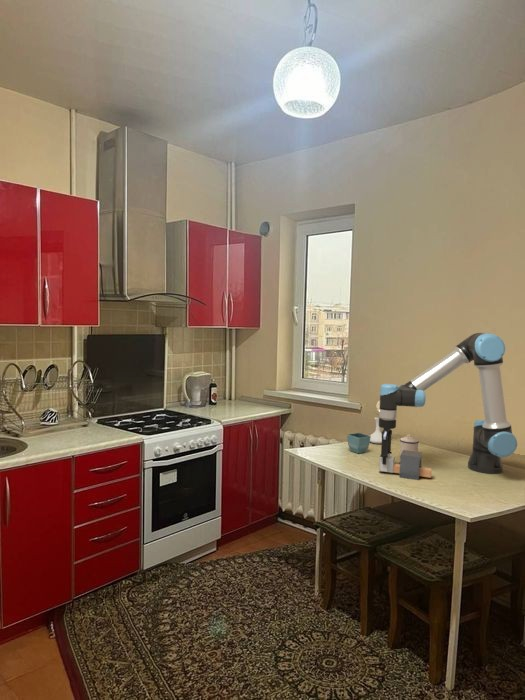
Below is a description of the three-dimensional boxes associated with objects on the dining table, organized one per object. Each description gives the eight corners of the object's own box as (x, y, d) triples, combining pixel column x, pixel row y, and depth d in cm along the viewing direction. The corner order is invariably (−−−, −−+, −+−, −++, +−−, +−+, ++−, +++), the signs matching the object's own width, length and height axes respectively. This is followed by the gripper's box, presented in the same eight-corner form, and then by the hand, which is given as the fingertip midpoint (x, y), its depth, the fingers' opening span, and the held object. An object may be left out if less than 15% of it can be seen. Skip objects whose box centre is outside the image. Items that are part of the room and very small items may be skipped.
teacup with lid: (421, 459, 250) (422, 436, 249) (404, 460, 248) (406, 437, 247) (409, 453, 261) (410, 431, 261) (393, 453, 259) (394, 431, 259)
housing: (420, 474, 226) (421, 452, 225) (418, 480, 217) (419, 457, 217) (402, 471, 229) (403, 449, 228) (399, 477, 220) (400, 454, 220)
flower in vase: (363, 442, 281) (365, 398, 280) (372, 439, 290) (374, 396, 288) (384, 446, 273) (386, 401, 271) (394, 443, 281) (396, 398, 280)
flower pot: (370, 453, 259) (371, 436, 258) (358, 455, 254) (359, 437, 253) (358, 449, 266) (358, 432, 266) (345, 451, 261) (346, 434, 261)
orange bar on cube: (431, 474, 222) (432, 461, 222) (430, 478, 218) (431, 464, 217) (380, 467, 230) (381, 455, 230) (379, 470, 226) (379, 457, 225)
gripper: (382, 414, 235) (380, 463, 237) (375, 421, 219) (373, 473, 220) (398, 416, 233) (396, 465, 234) (393, 423, 216) (390, 476, 217)
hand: (385, 469), depth 227 cm, fingers closed on orange bar on cube, 5 cm apart
